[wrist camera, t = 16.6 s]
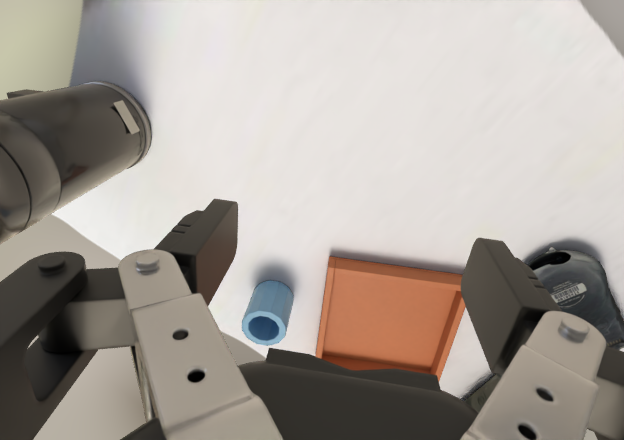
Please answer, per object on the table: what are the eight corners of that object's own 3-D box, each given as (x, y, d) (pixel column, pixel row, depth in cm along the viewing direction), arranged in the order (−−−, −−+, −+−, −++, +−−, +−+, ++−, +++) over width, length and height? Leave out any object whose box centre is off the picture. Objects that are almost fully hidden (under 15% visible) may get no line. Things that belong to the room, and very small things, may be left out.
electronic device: (623, 311, 47) (584, 233, 41) (649, 351, 43) (609, 269, 36) (543, 334, 51) (497, 266, 45) (560, 372, 47) (511, 302, 41)
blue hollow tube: (253, 309, 51) (241, 341, 46) (254, 277, 49) (242, 308, 43) (291, 314, 51) (284, 348, 45) (294, 283, 48) (286, 314, 43)
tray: (315, 355, 54) (313, 368, 51) (329, 256, 46) (328, 267, 44) (433, 373, 53) (437, 387, 51) (467, 275, 45) (472, 287, 43)
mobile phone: (460, 462, 53) (533, 403, 46) (441, 455, 53) (512, 394, 46) (452, 429, 58) (518, 370, 51) (435, 422, 57) (499, 362, 50)
